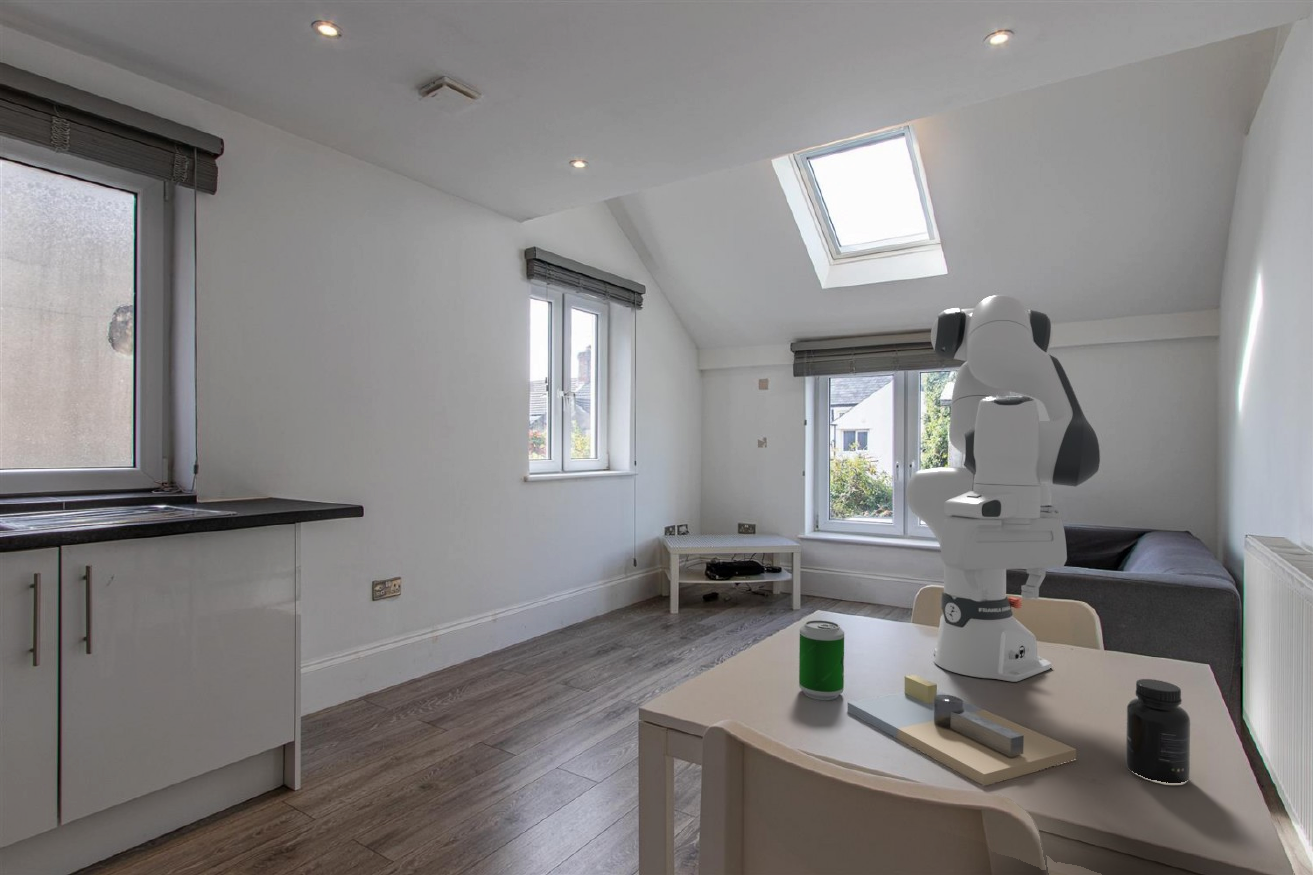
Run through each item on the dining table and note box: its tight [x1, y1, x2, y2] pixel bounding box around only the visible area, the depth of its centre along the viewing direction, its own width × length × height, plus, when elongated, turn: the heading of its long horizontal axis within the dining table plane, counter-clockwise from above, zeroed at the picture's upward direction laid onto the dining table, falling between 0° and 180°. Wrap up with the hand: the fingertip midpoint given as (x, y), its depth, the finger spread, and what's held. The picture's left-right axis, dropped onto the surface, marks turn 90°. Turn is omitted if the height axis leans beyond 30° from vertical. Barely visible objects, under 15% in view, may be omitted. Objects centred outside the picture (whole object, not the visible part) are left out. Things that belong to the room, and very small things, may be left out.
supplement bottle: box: [1125, 678, 1191, 783], centre depth 91 cm, size 7×7×12 cm
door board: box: [847, 674, 1077, 787], centre depth 103 cm, size 18×26×4 cm
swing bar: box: [934, 694, 1024, 757], centre depth 98 cm, size 14×4×4 cm, turn 25°
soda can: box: [798, 619, 845, 701], centre depth 118 cm, size 8×8×12 cm
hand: (1004, 599), depth 99 cm, fingers open, 8 cm apart
